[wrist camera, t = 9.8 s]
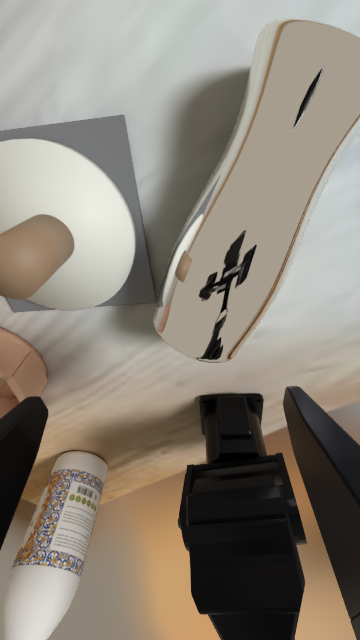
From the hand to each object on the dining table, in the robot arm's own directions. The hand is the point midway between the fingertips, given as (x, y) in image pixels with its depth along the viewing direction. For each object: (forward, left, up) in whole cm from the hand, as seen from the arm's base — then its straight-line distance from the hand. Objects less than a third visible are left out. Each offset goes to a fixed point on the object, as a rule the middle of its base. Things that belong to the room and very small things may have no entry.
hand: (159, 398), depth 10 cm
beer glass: (+10, -8, -10) cm, 16 cm away
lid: (+3, +8, -12) cm, 15 cm away
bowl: (-9, +19, -12) cm, 24 cm away
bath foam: (-28, +16, -13) cm, 35 cm away
